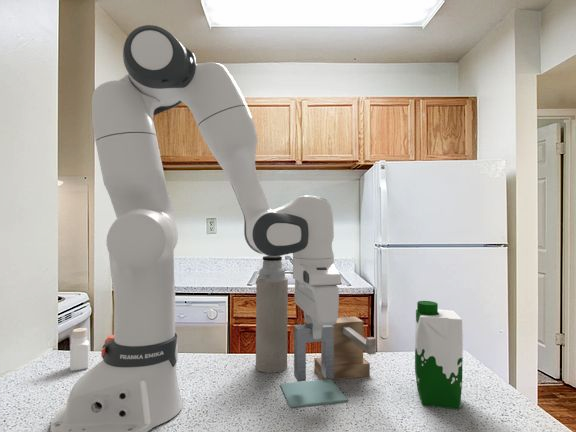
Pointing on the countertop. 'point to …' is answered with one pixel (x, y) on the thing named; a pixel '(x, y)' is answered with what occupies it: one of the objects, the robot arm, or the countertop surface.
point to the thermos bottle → (271, 316)
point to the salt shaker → (79, 350)
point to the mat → (312, 393)
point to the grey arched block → (300, 339)
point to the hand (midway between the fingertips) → (313, 334)
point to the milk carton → (438, 355)
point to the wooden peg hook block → (349, 350)
